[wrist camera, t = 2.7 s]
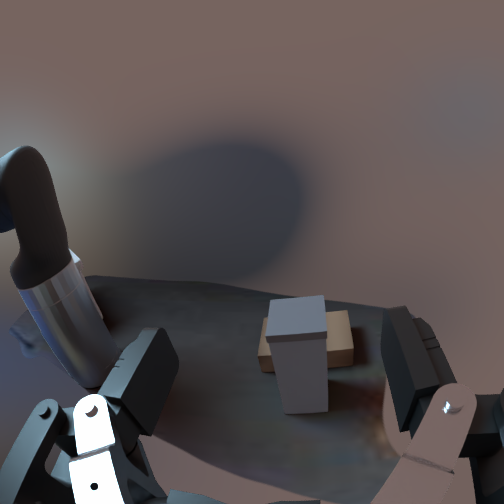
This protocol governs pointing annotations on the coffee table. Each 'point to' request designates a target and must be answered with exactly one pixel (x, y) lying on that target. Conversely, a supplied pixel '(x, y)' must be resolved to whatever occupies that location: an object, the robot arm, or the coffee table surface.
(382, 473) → the coffee table surface
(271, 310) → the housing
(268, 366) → the stand
